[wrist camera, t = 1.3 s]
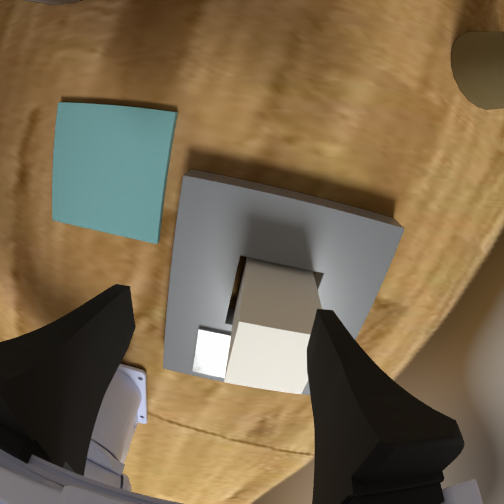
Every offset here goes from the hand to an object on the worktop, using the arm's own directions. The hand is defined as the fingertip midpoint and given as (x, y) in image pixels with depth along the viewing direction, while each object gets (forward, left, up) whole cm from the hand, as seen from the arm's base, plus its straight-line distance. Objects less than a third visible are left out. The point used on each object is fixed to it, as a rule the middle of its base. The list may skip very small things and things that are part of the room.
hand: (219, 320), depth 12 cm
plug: (-4, -3, -11) cm, 12 cm away
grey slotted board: (-5, -3, -11) cm, 12 cm away
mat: (+2, +10, -11) cm, 15 cm away
